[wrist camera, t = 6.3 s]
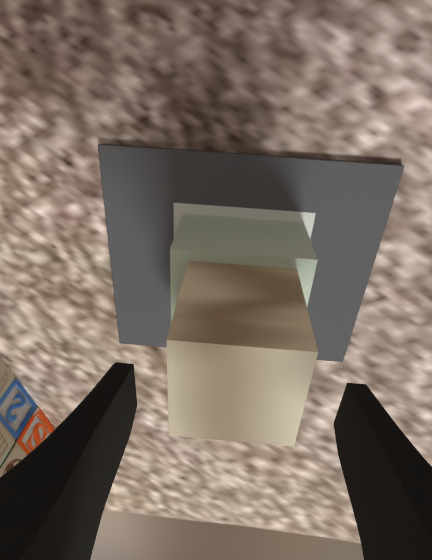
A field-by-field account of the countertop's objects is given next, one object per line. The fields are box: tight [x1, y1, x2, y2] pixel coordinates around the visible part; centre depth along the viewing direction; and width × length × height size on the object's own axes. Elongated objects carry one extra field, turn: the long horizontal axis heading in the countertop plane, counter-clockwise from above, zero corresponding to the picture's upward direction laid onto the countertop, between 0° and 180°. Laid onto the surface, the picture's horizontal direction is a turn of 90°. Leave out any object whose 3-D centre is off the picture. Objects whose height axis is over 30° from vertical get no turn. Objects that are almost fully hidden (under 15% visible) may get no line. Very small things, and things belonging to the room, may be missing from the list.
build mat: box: [98, 144, 404, 362], centre depth 20 cm, size 14×12×1 cm
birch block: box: [167, 261, 318, 447], centre depth 14 cm, size 4×4×5 cm
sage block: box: [170, 213, 318, 322], centre depth 18 cm, size 6×6×4 cm
